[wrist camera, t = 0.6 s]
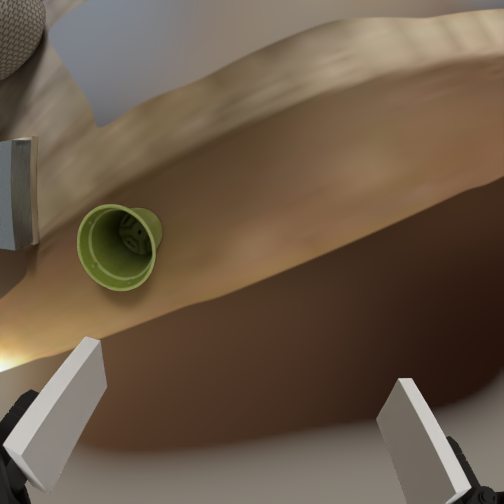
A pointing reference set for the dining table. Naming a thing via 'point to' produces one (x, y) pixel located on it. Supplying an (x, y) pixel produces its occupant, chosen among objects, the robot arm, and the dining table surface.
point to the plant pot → (119, 245)
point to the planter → (19, 32)
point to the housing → (15, 194)
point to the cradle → (33, 187)
